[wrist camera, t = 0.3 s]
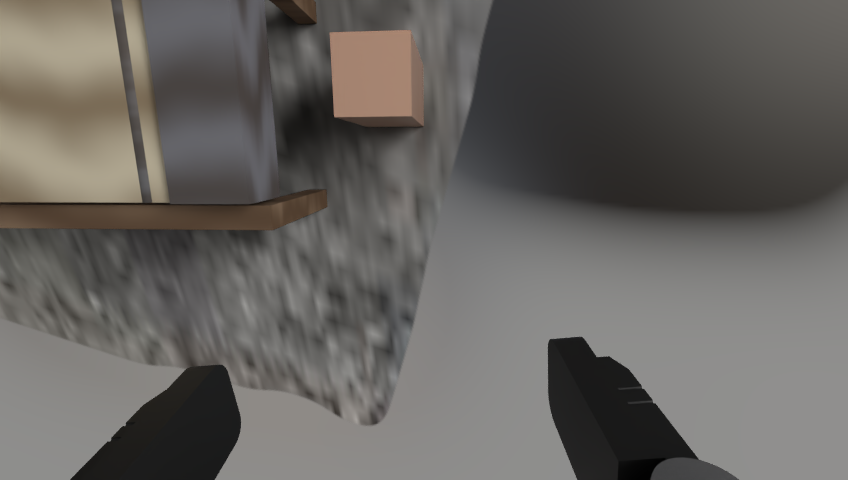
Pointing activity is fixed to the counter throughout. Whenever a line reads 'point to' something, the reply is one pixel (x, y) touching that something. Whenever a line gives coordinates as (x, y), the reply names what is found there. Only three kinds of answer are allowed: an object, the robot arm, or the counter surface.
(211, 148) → the trapdoor
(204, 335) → the counter surface
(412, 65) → the block
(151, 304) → the counter surface
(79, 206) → the wooden legged stool
